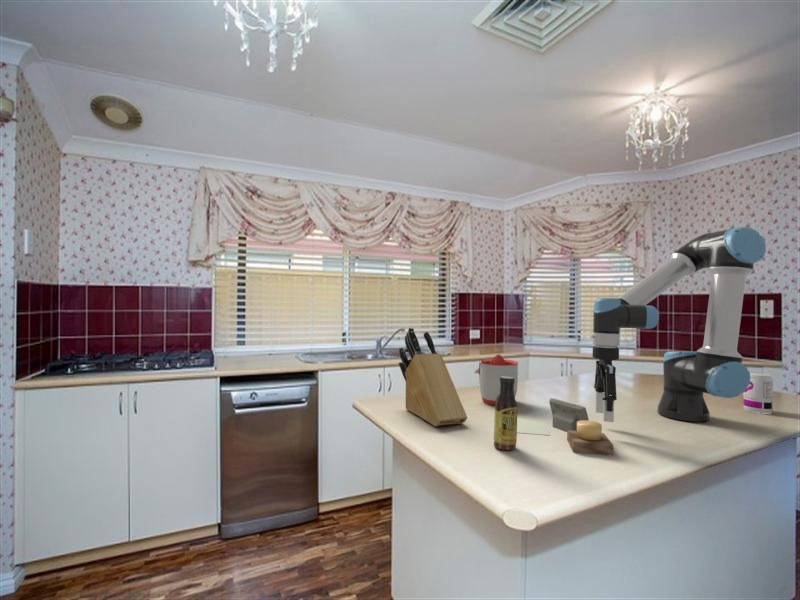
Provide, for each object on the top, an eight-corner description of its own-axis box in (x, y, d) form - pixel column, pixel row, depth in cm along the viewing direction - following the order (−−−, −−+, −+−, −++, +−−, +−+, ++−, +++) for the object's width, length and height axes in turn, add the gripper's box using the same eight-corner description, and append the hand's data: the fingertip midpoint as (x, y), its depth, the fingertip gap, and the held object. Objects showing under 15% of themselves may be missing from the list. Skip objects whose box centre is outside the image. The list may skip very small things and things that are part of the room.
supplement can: (748, 416, 147) (749, 375, 147) (739, 410, 155) (739, 371, 155) (777, 418, 144) (777, 377, 144) (766, 412, 152) (766, 373, 152)
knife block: (420, 401, 164) (421, 326, 164) (468, 426, 132) (469, 332, 132) (395, 404, 160) (396, 326, 160) (438, 430, 127) (439, 333, 127)
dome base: (603, 443, 117) (603, 433, 117) (613, 456, 107) (613, 444, 107) (567, 440, 120) (567, 430, 120) (573, 452, 110) (573, 441, 110)
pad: (544, 420, 140) (544, 419, 140) (550, 436, 123) (550, 435, 123) (505, 417, 143) (505, 416, 143) (506, 432, 126) (506, 431, 126)
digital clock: (594, 435, 124) (594, 406, 124) (573, 438, 122) (573, 408, 122) (563, 422, 137) (564, 396, 137) (544, 424, 135) (545, 397, 135)
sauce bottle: (502, 453, 109) (503, 380, 109) (489, 445, 115) (489, 376, 115) (522, 449, 112) (522, 378, 112) (507, 442, 117) (508, 374, 117)
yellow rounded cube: (598, 442, 116) (598, 421, 116) (604, 450, 110) (604, 428, 110) (574, 440, 117) (574, 419, 117) (578, 448, 111) (579, 426, 111)
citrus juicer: (477, 397, 173) (477, 350, 173) (519, 400, 167) (519, 352, 167) (471, 405, 158) (471, 355, 158) (516, 410, 152) (517, 357, 152)
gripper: (585, 342, 139) (584, 407, 139) (601, 349, 117) (599, 425, 117) (609, 343, 137) (607, 408, 137) (630, 351, 115) (628, 428, 115)
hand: (604, 416), depth 127 cm, fingers open, 10 cm apart
